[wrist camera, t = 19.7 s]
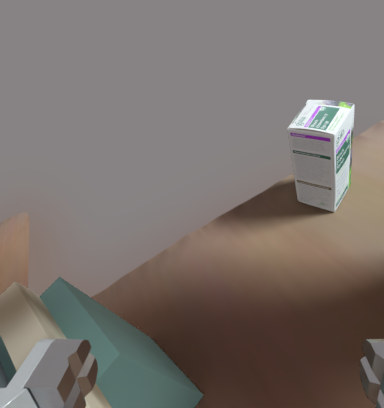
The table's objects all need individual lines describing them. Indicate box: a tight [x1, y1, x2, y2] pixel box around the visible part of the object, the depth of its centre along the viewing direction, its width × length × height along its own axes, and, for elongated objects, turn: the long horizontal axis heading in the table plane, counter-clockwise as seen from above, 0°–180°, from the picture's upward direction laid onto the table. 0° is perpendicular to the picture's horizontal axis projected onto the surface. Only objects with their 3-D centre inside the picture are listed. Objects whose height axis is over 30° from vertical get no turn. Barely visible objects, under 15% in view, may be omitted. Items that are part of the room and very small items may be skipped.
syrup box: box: [287, 100, 354, 212], centre depth 40 cm, size 6×6×14 cm
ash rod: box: [0, 282, 112, 408], centre depth 19 cm, size 19×3×3 cm, turn 47°
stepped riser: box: [0, 277, 204, 408], centre depth 26 cm, size 10×14×25 cm
